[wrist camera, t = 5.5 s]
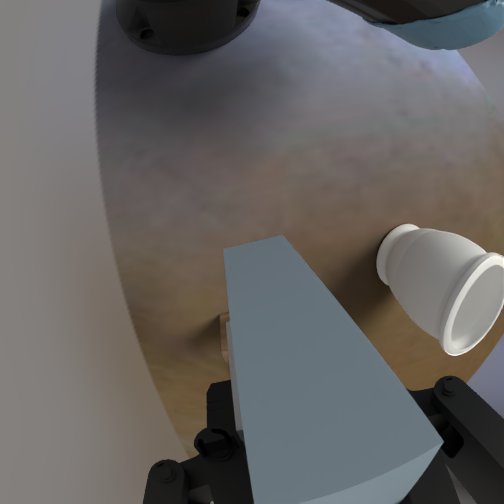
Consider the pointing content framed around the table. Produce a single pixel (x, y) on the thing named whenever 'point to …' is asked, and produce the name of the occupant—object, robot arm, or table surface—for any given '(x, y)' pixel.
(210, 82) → the table surface
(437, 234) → the jar
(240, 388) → the blue-gray rectangular block
